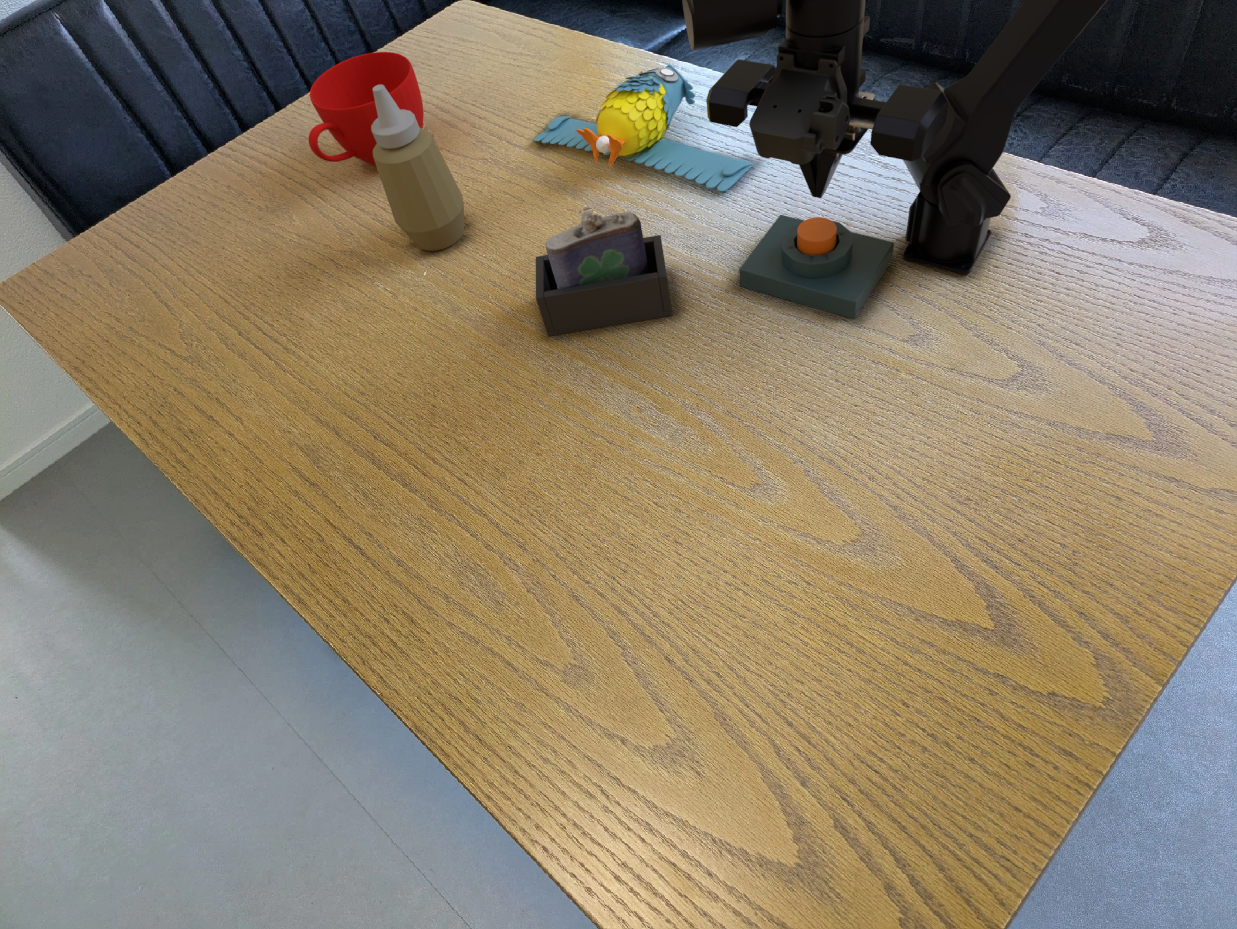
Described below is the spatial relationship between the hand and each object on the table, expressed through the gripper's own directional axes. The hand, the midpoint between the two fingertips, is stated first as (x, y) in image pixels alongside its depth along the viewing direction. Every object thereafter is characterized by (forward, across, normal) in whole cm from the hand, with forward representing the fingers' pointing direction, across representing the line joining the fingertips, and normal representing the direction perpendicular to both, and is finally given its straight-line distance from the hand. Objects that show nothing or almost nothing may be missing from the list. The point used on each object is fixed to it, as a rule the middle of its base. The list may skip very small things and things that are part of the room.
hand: (818, 194), depth 73 cm
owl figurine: (+9, -28, +12) cm, 32 cm away
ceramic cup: (+9, -60, -1) cm, 61 cm away
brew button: (+5, 0, 0) cm, 5 cm away
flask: (+9, -17, -12) cm, 22 cm away
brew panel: (+9, 0, 0) cm, 9 cm away
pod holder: (+9, -17, -12) cm, 23 cm away
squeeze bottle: (+9, -42, -10) cm, 44 cm away
